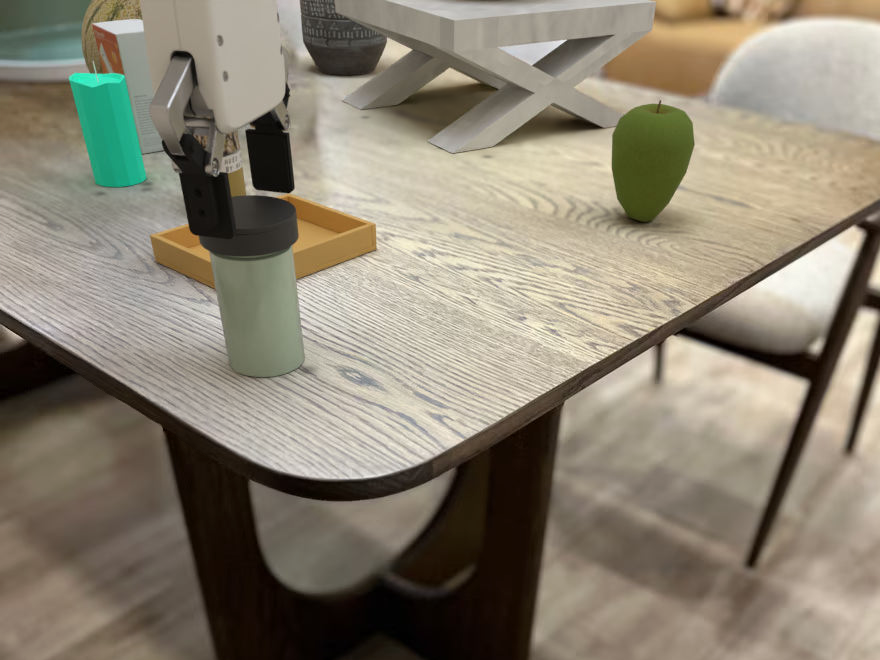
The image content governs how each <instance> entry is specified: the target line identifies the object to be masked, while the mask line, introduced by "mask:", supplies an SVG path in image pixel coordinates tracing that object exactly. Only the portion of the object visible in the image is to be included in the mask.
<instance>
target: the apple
mask: <svg viewBox="0 0 880 660" xmlns="http://www.w3.org/2000/svg"><path fill="white" fill-rule="evenodd" d="M693 122H694V121H692V119H691V118H690V117H689V115H688V114H687V113H686V111H685V110H683V109H681V108H678V107H675V106H672V105H668V104H664V103H662V100H661V99H659V102H658V103H647V104H642V105H638V106H635V107H633V108H632V109H630V110H629V111H627V112H626V113H625V114H624V115H623V116H622V117H621V118H620V119H619V121H618V124H617V126H615V128H614V130H613V132H612V135H611V143H612V144H611V172H612V178H613V183H614V189H615V195H616V200H617V201H618V203H619V204H620V206H621V208H622V209H623V211H624V212H625V215H626V216H627V217H628V218H630V219H633V220H636V221H639V222H643V223H648V222H652V221H654V220H655V219H656V218H657V217H658V216H659V215H660V214H661V212H662V211H664V209H666V207H667V206H668V205H669V204H670V202H671V200H672V199H673V197H674V196H675V193H676V192H677V190H678V188H679V186H680V184H681V183H682V181H683V180H684V178H685V176H686V174H687V171H688V169H689V165H690V162H691V158H692V155H693V152H694V149H695V145H696V143H695V133H694V123H693Z"/></svg>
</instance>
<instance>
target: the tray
mask: <svg viewBox="0 0 880 660" xmlns="http://www.w3.org/2000/svg"><path fill="white" fill-rule="evenodd" d="M274 197H275V196H274ZM275 198H280V199H283V200H286V201H288V202H290V203H291V204H293V205H294V206H295V208H296V215H297V224H298V233H299V237H298V240H297V241H296V242H295V243H294V244H293V245H292V246H293V255H294V264H295V273H296V280H299V279H302V278H304V277H307V276H309V275H312V274H315V273H317V272H318V273H319V272H320V271H323V270H326V269H328V268H331V267H333V266H336V265H339V264H341V263H344V262H346V261H349V260H352V259H355V258H357V257H360V256H363V255H365V254H368V253H370V252H373V251H376V250H377V249H378V247H377V245H378V244H377V224H376V223H375V222H371V221H368V220H367V219H363V218H361V217H359V216H355V215H352V214H349V213H346V212H343V211H341V210H338V209H335V208H332V207H330V206H327V205H323V204H320V203H318V202H315V201H313V200H309V199H307V198H303V197H300V196H297V195H295V194H292V193H284V194H282V195H279V196H276V197H275ZM149 238H150V243H151V246H152V252H153V256H154V261H155V262H156V263H158V264H160V265H163V266H164V267H167V268H169V269H171V270H173V271H176V272H177V273H179V274H182V275H184V276H187V277H188V278H191V279H192V280H194V281H197V282H199V283H201V284H203V285H205V286H208V287H210V288H212V289H214V290H216V288H215V282H214V276H213V271H212V265H211V259H210V254H209V251H208V250H207V249H205V248H204V247H202V245H201V244H200V241H199V236H197V235H194V234H192V233H191V231H190V229H189V224H188V223H186V224H183V225H178V226H176V227H171V228H168V229H165V230H163V231H158V232H156V233H152V234H150V235H149Z"/></svg>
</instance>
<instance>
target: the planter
mask: <svg viewBox="0 0 880 660" xmlns="http://www.w3.org/2000/svg"><path fill="white" fill-rule="evenodd" d="M299 7H300V8H299V9H300V23H301V34H302V43H303V44H304V46H305V48H306V51H307V52H308V53H309V54H308V55H309V56H310V58H311V59H312V61H313V63H314V64H315V66H316V67H317V69H318V70H319V71H320V72H321V73H324V74H326V75H333V76H359V75H366V74H370V73H372V72H374V71H375V70H376V68H377V66H378V64H379V62H380V60H381V59H382V56H383V54H384V51H385V48H386V46H387V43H388V37H386V36H383V35H381V34H379V33H377V32H375V31H373V30H371V29H369V28H367V27H365V26H363V25H361V24H359V23H357V22H355V21H353V20H351V19H349V18H346V17H344V16H342V15H340V14H338V13H336V10H335V0H299Z"/></svg>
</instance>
